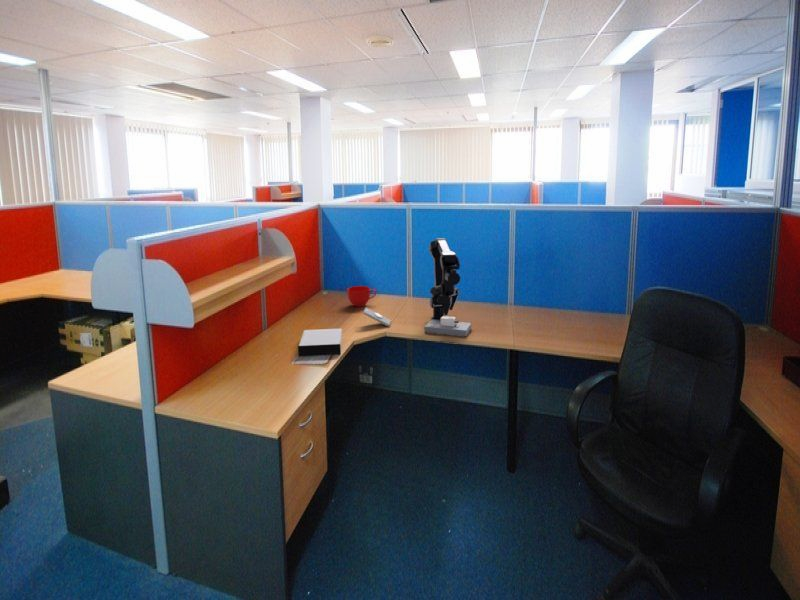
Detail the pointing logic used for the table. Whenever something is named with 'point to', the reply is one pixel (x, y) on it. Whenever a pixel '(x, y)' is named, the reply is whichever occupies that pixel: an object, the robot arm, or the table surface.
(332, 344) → the disc drive
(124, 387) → the table surface
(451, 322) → the plug
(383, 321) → the light switch
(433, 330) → the socket
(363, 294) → the ceramic cup
